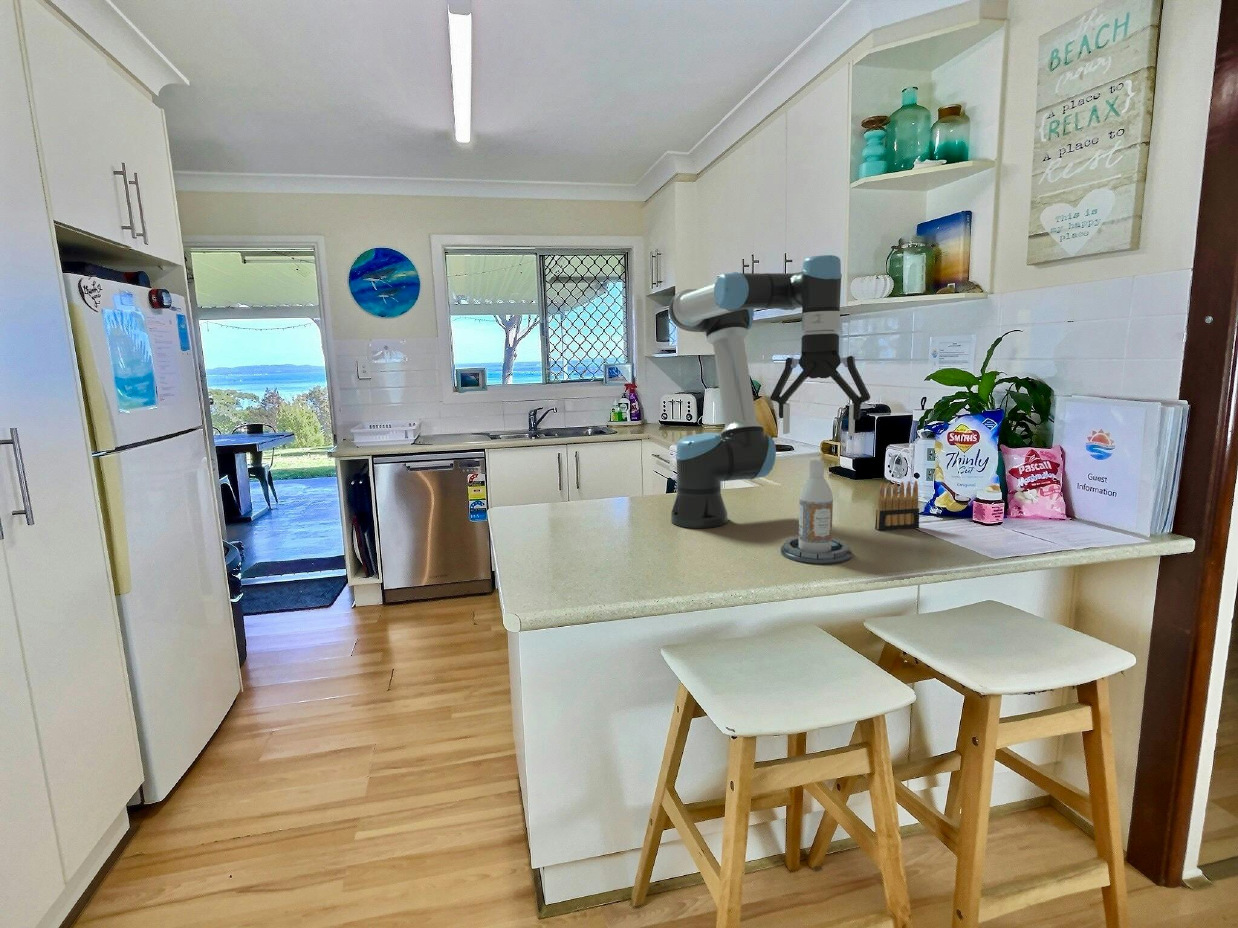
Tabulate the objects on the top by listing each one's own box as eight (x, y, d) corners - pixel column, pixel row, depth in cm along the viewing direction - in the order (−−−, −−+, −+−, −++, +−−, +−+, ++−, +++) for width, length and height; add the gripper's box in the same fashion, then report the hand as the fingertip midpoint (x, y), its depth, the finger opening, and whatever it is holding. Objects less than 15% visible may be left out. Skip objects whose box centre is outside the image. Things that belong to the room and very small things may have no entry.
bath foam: (807, 555, 134) (809, 464, 131) (793, 546, 141) (794, 459, 137) (837, 553, 135) (840, 462, 132) (821, 544, 142) (824, 457, 138)
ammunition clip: (878, 531, 154) (880, 483, 152) (874, 529, 155) (876, 482, 153) (919, 528, 155) (921, 481, 153) (914, 526, 157) (917, 479, 155)
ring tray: (772, 558, 135) (772, 550, 135) (790, 540, 148) (790, 532, 148) (845, 568, 128) (845, 558, 127) (856, 548, 141) (856, 539, 140)
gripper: (756, 335, 133) (756, 434, 136) (882, 330, 121) (878, 438, 124) (766, 336, 139) (765, 430, 143) (886, 331, 127) (882, 433, 131)
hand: (818, 434), depth 134 cm, fingers open, 13 cm apart
